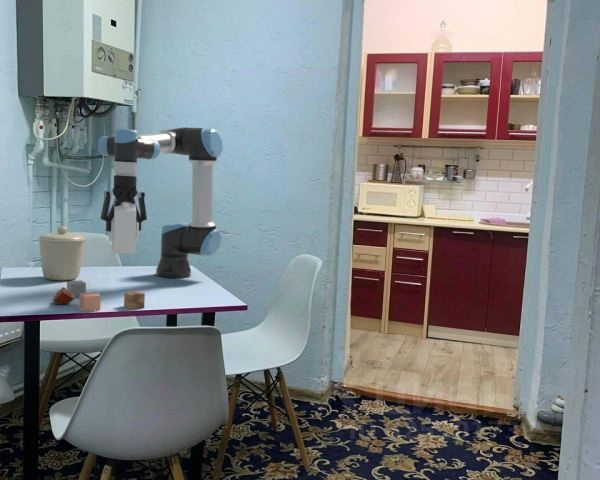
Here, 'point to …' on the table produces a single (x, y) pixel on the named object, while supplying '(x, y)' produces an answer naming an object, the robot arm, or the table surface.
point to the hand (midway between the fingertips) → (123, 240)
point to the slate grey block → (76, 287)
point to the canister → (61, 254)
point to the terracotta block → (89, 301)
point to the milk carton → (124, 228)
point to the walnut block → (134, 299)
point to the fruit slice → (63, 296)
